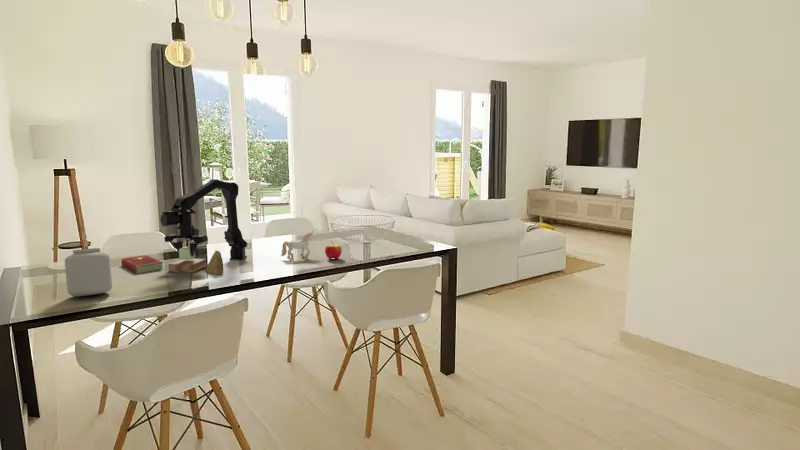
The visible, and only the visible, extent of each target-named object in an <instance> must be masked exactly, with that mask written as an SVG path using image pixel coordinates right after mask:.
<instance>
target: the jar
mask: <svg viewBox="0 0 800 450" xmlns="http://www.w3.org/2000/svg"><path fill="white" fill-rule="evenodd" d="M83 233H84V234H83V235H84V236H86V231H84V232H83ZM87 241H88V239H87V238H85V241H84V242H85V243H87ZM85 246H86V247H87V246H88V244H86V245H85ZM72 253H73V254H71V255H68V256H66V257H65V259H64V268H65V281H66V289H67V294H68V295H70V296H72V297H84V296H91V295H92V296H93V295H98V294H99V295H100V294H104V293H107V292H110V291H111V290H112V289H113V281H112V279H113V278H112V268H111V257H110V255H109V253H107V252H102V251H101V247H97V248H96V247H93V248H83V249H75V250H74V249H73V250H72Z"/></svg>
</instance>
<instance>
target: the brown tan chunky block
mask: <svg viewBox="0 0 800 450" xmlns="http://www.w3.org/2000/svg"><path fill="white" fill-rule="evenodd" d="M223 262H224V261H223V258H222V253H221V251H220V250H215V251H214V253H212V256H211V257H210V261H209V262H208V263H207V264H206V269H205V272H207V273H209V274H214V275H223V274H224V263H223Z"/></svg>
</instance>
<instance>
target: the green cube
mask: <svg viewBox="0 0 800 450" xmlns="http://www.w3.org/2000/svg"><path fill="white" fill-rule="evenodd" d="M178 255H179V259H180V260H190V259H196V252H195V253H194V256H193V257H192V256H191V251H190V246H183V248H180V249H179V252H178ZM179 259H178V260H179Z"/></svg>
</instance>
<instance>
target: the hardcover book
mask: <svg viewBox="0 0 800 450" xmlns="http://www.w3.org/2000/svg"><path fill="white" fill-rule="evenodd" d="M120 262H121V266H122V267H124V268H126V269H128V271H132V272H134V273H135V274H141V273H146V272H155V271H159V270H163V263H164V261H162V260H160V259H158V258H156V257H153V256H151V255H149V254H144V255H143V254H142V255H137V256H130V257H129V256H128V257H122V258H121V261H120Z"/></svg>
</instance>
